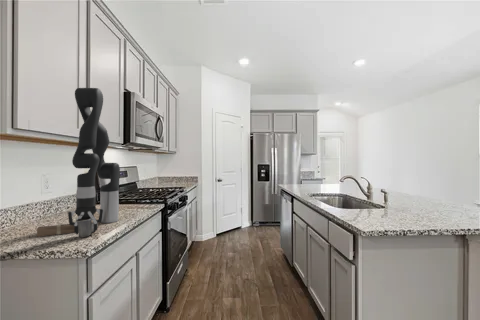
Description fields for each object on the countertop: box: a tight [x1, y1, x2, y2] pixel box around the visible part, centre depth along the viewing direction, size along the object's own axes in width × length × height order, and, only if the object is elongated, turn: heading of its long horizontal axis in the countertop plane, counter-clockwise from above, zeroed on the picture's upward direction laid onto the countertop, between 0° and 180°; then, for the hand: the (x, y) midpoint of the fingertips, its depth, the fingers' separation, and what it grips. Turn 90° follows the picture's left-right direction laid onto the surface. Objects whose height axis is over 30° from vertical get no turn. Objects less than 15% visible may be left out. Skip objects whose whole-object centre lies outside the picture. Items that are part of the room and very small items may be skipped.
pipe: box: [75, 218, 99, 238], centre depth 116 cm, size 6×13×8 cm, turn 2°
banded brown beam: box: [36, 223, 79, 238], centre depth 120 cm, size 4×20×4 cm, turn 121°
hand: (85, 232), depth 115 cm, fingers closed on pipe, 6 cm apart
